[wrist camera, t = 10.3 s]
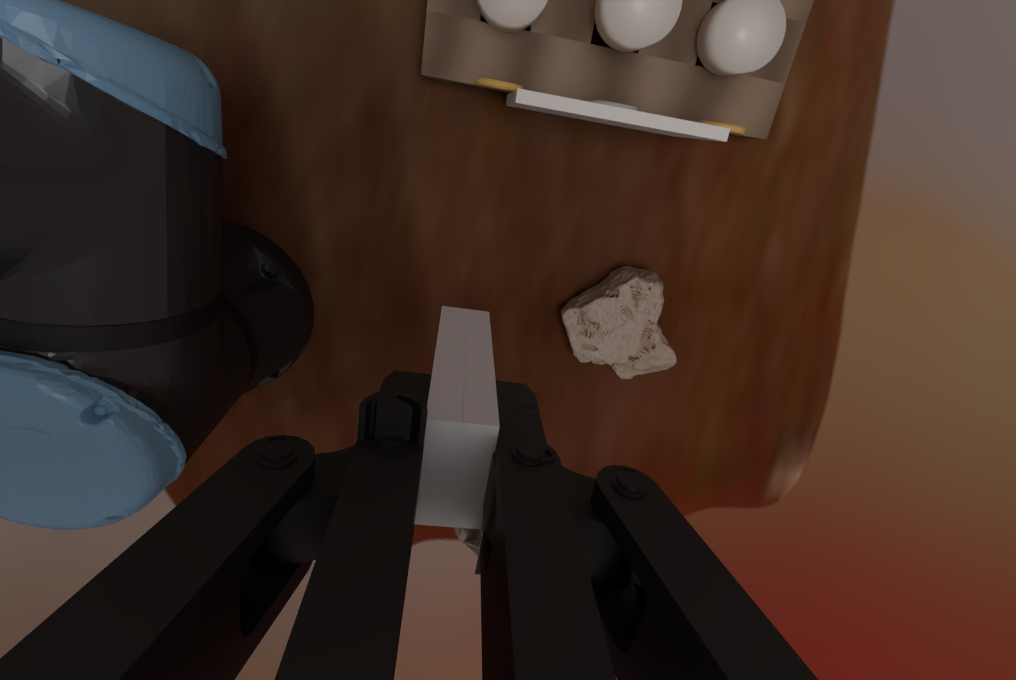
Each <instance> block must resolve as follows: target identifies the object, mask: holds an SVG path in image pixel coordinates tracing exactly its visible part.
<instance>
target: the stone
mask: <svg viewBox="0 0 1016 680" xmlns="http://www.w3.org/2000/svg"><path fill="white" fill-rule="evenodd" d="M663 302H664V297H663V282H662V281H661V280H660V279H659V277H658V275H657V274H656V273H655V272H652V271H648V270H645V269H637V268H633V267H630V266H622V267H620V268H617V269H615V270H613V271H612V272H611V273H610V274H609V276H608V277H607V278H605V279H604V280H603V281H602V282H601V283H599V284H597V285H595V286H593V287H591V288H589V289H588V290H586V291H584V292H582V293H581V294H580V295H578V296H576V297H574V298H572V299H571V300H570V301H568V303H567V304H566V305H565V306H564V307H563V308H562V310H561V315H562V320H563V323H564V326H565V328H566V331H567V335H568V339H569V341H570V345H571V348H572V351H573V353H574V356H576V357H577V359H578V360H579V361H580V362H590V361H592V363H595V364H600V365H602V364H606V363H607V364H609V365H610V366H611V367H612V369H613V370H614V371H615V372H616V374H617V375H618V376H619V377H620V378H621V379H629V380H630V379H631V378H632V377H633V376H635V375H642V374H646V373H650V372H657V371H662V370H667V369H669V368H670V367H672V366H674V365H675V364H676V355H675V352H674V351H673V349H672V348H671V346H670V345H669V344H668V341H667V339H666V338H665V337H664V336H663V334H662V331H661V327H660V326H659V325H658V323H657V322H658V318H659V316H660V314H661V312H662V307H663Z"/></svg>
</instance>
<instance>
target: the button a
mask: <svg viewBox="0 0 1016 680" xmlns="http://www.w3.org/2000/svg"><path fill="white" fill-rule="evenodd" d="M547 1H548V0H476V2H477V5H478V8H479V10H480V12H481V14H482V16H483V17H484V19H485V20H486V21H487V22H488V23H489V24H490V25H491V26H493V27H494V28H496V29H498V30H500V31H503V32H518V31H521V30H524V29H525V28H527V27H529V26H530V25H531V24H532V23H533V22H534V21H535V20H536V19H537V17H538V16H539V15H540V13H541V12H542V10H543V9H544V7H545V5H546V3H547Z"/></svg>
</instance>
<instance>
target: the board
mask: <svg viewBox="0 0 1016 680" xmlns="http://www.w3.org/2000/svg"><path fill="white" fill-rule="evenodd" d="M723 1H725V0H682V7H681V11H680V14H679V17H678V19H677V22H676V23H675V25H674V27H673V28H672V29H671V31H670V32H669V33H668V34H667V35H666V36H665V37H664V38H663V39H661V40H660V41H658V42H656V43H654V44H652V45H649V46H647V47H644V48H642V49H639V50H636V51H632V52H622V51H618V50H615V49H613V48H609V47H604V46H599V45H594V44H590V43H591V38H592V33H593V28H594V23H595V4H596V0H548V1H547V3H546V5H545V7H544V9H543V10H542V12H541V13H540V15H539V16H538V17H537V19H536V20H535V21H534V22H533V23H532V24H531V25H530V26H529V27H528V29H527V31H525V30H521V31H518V32H503V31H500V30H498V29H496V28H494V27H493V26H491V25H490V24H489V23H486V22H481V21H480V18H481V12H480V10H479V8H478V5H477V2H476V0H427V12H426V23H425V35H424V46H423V57H422V69H421V75H422V76H423V77H424V78H429V79H435V80H440V81H445V82H451V83H456V84H461V85H467V86H472V87H477V88H483V89H488V90H493V91H499V92H504V93H510V92H506V91H500V90H495V89H490V88H485V87H481V86H477V85H475V79H476V78H477V77H478V78H487V79H494V80H499V81H504V82H509V83H513V84H517V85H521V86H523V89H524V90H530V91H535V92H540V93H545V94H551V95H556V96H561V97H567V98H572V99H577V100H582V101H588V102H591V100H601V101H608V102H614V103H620V104H625V105H629V106H633V107H637V111H640V112H646V113H651V114H656V115H661V116H667V117H672V118H677V119H683V120H688V121H693V122H698V123H699V121H710V122H718V123H724V124H730V125H735V126H740V127H744V128H746V130H745V133H744V135H740V134H731V133H729V135H733V136H738V137H743V138H750V139H763V140H766V139H767V136H768V133H769V131H770V128H771V125H772V122H773V119H774V116H775V113H776V110H777V107H778V104H779V101H780V98H781V95H782V92H783V89H784V86H785V84H786V81H787V78H788V75H789V72H790V69H791V66H792V63H793V60H794V57H795V54H796V51H797V48H798V45H799V42H800V40H801V37H802V34H803V31H804V28H805V25H806V22H807V19H808V16H809V13H810V10H811V7H812V4H813V1H814V0H779V1H780V2H781V4H782V6H783V8H784V11H785V15H786V31H785V36H784V39H783V42H782V44H781V46H780V48H779V50H778V52H777V53H776V55H775V56H774V57H773V58H772V59H771V60H770V61H769V62H768V63H767V64H766V65H765V66H763V67H762V68H760V69H758V70H755V71H752V72H747V73H741V74H735V75H728V76H720V75H716V74H713V73H711V72H710V71H708V70H707V69H706V68H705V67H701V66H697V65H695V63H696V59H697V56H698V52H697V35H698V31H699V28H700V25H701V23H702V21H703V19H704V18H705V16H706V15H707V13H708V12H709V11H710V10H711V9H712V8H713V7H714V6H716V5H717V4H719V3H721V2H723Z"/></svg>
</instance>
